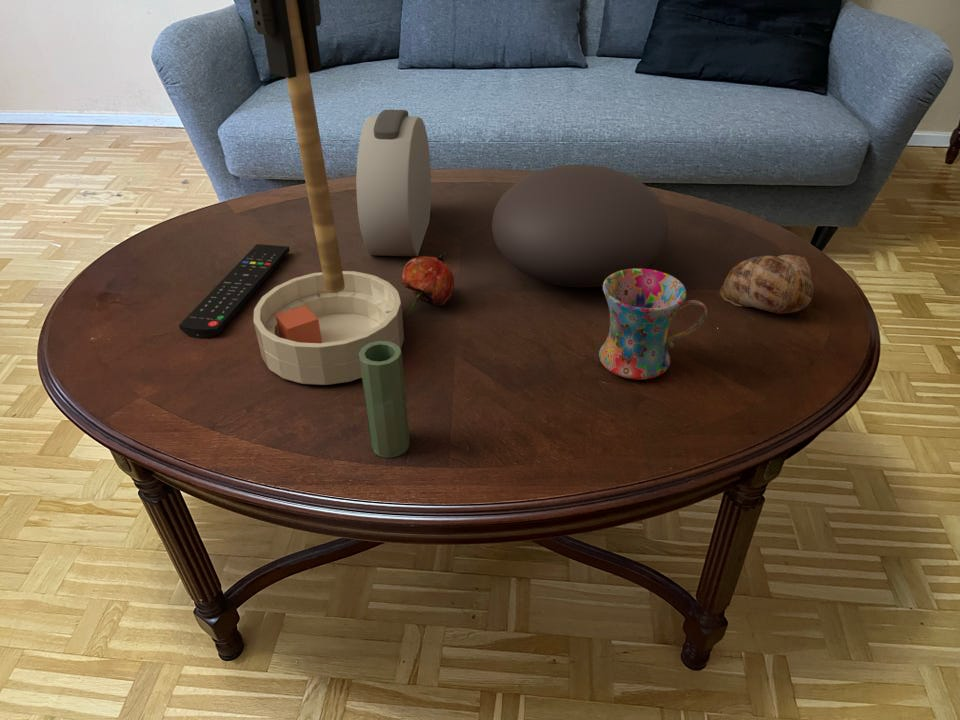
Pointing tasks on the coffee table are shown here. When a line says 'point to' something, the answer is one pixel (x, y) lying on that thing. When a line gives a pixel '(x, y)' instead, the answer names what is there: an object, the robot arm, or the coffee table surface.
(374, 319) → the bowl
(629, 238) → the flattened ellipsoid
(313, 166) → the stick
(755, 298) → the seashell
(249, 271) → the remote control
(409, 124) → the alarm clock
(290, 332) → the block
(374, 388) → the holder
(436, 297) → the pomegranate
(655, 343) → the mug
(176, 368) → the coffee table surface
